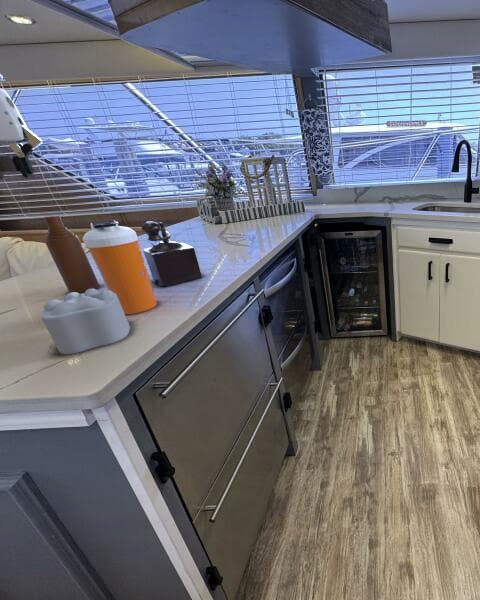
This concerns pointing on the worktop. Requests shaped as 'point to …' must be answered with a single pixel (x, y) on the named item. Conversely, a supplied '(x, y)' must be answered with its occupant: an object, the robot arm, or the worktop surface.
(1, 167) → the cap
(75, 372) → the worktop surface
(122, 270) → the shaker bottle
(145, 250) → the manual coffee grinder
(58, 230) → the bottle
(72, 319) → the lumpy-topped squat cylinder
